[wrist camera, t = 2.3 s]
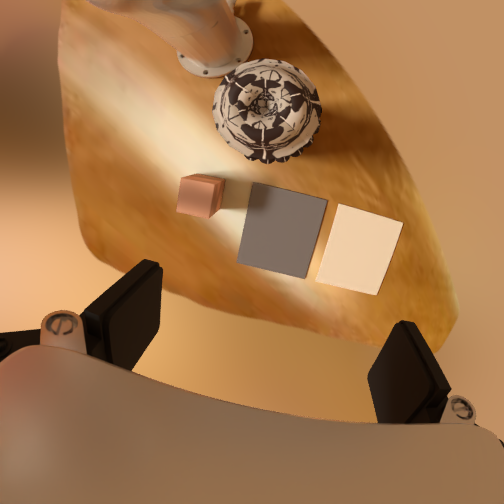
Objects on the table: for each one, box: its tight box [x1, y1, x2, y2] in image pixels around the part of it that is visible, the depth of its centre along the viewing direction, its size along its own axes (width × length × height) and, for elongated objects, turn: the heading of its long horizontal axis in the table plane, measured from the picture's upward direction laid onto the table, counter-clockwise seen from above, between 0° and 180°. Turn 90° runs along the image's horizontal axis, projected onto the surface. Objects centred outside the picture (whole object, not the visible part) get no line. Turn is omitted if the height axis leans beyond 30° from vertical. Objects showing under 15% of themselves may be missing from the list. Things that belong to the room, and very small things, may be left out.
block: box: [176, 174, 225, 219], centre depth 42 cm, size 5×5×7 cm
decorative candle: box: [212, 59, 322, 164], centre depth 29 cm, size 9×9×25 cm
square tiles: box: [237, 182, 403, 295], centre depth 46 cm, size 14×26×1 cm, turn 78°
